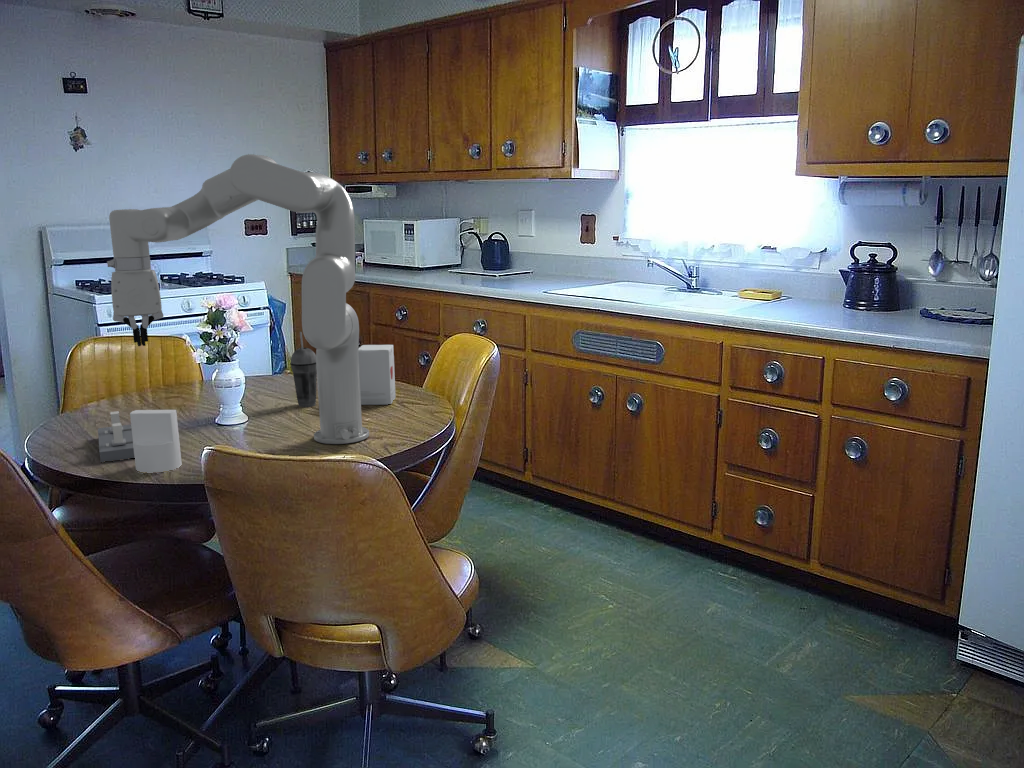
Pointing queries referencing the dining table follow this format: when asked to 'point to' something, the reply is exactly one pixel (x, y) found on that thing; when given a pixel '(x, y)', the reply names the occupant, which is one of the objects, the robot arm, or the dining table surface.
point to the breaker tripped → (115, 419)
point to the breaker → (118, 435)
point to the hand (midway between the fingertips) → (141, 345)
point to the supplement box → (376, 374)
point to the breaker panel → (116, 451)
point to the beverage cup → (304, 375)
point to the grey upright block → (155, 440)
